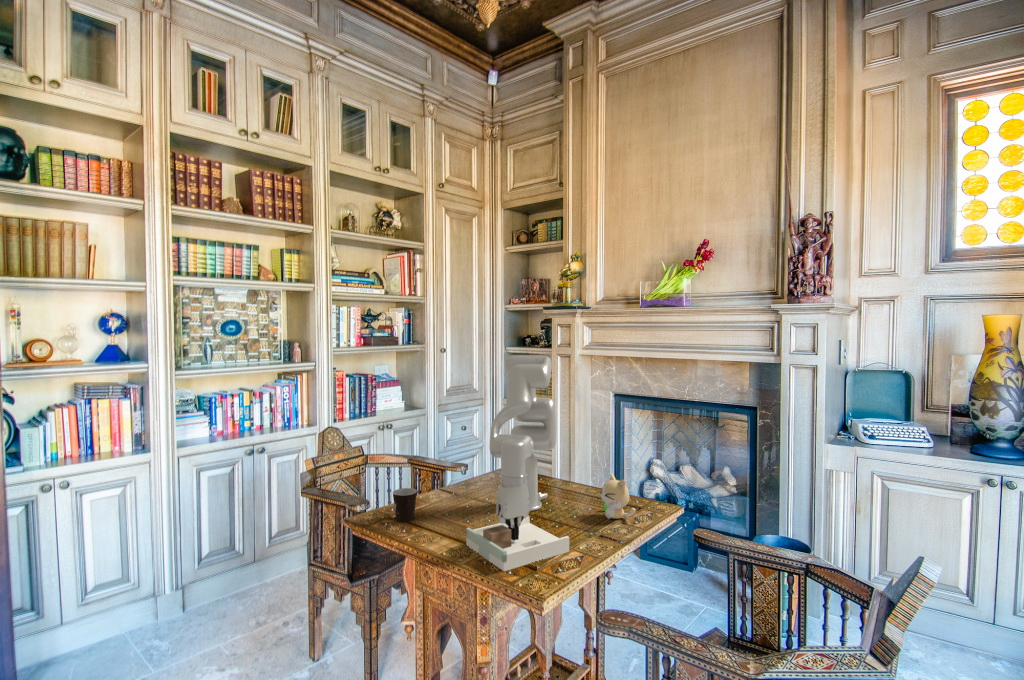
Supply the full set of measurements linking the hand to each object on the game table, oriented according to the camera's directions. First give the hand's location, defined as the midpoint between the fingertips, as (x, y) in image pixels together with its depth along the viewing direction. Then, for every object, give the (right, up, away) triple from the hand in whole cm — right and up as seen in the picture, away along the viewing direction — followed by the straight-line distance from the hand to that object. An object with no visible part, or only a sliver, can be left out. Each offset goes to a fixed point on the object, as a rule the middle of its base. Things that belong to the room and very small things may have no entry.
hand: (513, 538), depth 163 cm
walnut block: (-5, -1, -3) cm, 6 cm away
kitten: (+37, -3, +28) cm, 47 cm away
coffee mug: (-39, -3, +26) cm, 47 cm away
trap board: (+1, -3, +1) cm, 4 cm away
